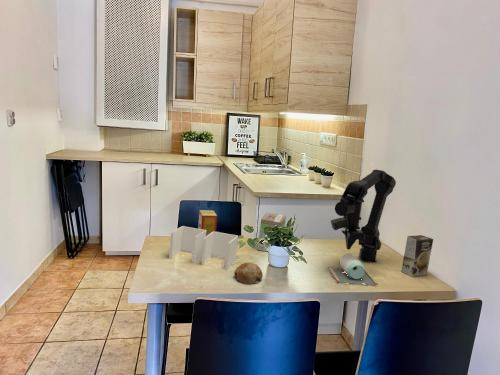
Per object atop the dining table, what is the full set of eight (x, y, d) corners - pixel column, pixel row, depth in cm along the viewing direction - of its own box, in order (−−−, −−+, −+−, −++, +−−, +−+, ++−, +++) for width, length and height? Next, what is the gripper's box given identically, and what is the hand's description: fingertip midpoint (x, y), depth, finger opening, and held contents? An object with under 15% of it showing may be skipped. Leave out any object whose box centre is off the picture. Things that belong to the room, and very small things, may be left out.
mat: (365, 272, 169) (366, 269, 169) (377, 286, 155) (378, 283, 155) (328, 269, 168) (328, 266, 168) (336, 283, 154) (337, 280, 154)
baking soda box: (214, 250, 178) (217, 215, 176) (199, 250, 177) (202, 214, 174) (210, 243, 187) (213, 209, 184) (196, 243, 186) (199, 209, 183)
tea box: (278, 253, 182) (282, 222, 179) (256, 250, 183) (260, 218, 181) (282, 244, 196) (286, 214, 193) (262, 241, 198) (265, 211, 195)
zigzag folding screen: (235, 260, 168) (238, 235, 166) (227, 269, 158) (229, 243, 156) (180, 250, 175) (182, 226, 173) (169, 258, 164) (170, 232, 162)
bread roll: (247, 295, 146) (257, 278, 143) (226, 276, 149) (236, 260, 146) (260, 286, 154) (270, 271, 151) (241, 268, 158) (250, 253, 155)
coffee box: (412, 277, 168) (419, 240, 165) (400, 271, 173) (406, 235, 171) (427, 275, 172) (434, 239, 169) (415, 269, 178) (421, 234, 175)
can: (336, 265, 169) (345, 277, 157) (343, 250, 168) (352, 261, 156) (351, 270, 170) (361, 282, 158) (358, 255, 169) (368, 266, 157)
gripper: (328, 206, 175) (324, 240, 178) (339, 217, 157) (334, 255, 160) (353, 208, 176) (348, 242, 179) (368, 219, 158) (362, 257, 160)
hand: (348, 249), depth 169 cm, fingers closed
